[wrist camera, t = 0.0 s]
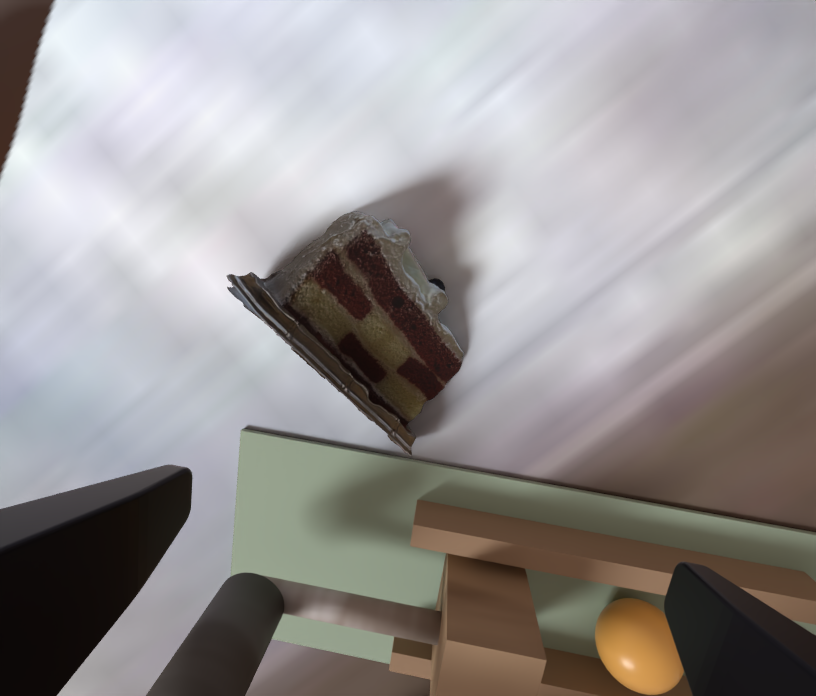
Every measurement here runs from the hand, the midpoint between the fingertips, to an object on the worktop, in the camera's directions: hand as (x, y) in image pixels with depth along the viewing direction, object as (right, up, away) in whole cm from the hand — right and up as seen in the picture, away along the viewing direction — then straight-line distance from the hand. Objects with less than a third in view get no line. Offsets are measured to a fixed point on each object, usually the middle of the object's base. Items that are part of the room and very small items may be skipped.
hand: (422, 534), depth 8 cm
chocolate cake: (-1, +5, +15) cm, 16 cm away
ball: (+11, -11, +14) cm, 21 cm away
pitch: (+9, -11, +16) cm, 22 cm away
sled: (-2, -9, +16) cm, 19 cm away
